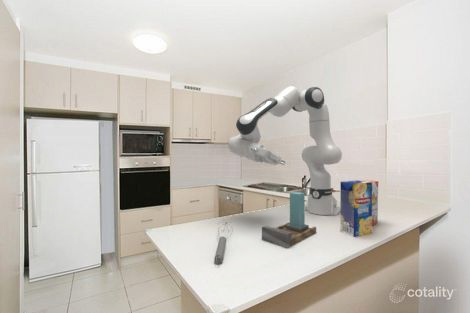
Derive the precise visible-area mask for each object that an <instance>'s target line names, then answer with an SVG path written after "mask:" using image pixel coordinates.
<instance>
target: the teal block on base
mask: <svg viewBox="0 0 470 313" xmlns="http://www.w3.org/2000/svg"><path fill="white" fill-rule="evenodd" d="M305 202H306V201H305V192H299V191H293V192H289V222H290V224H288V225H286V229H289V230H293V231H296V232H300V233H301V232H303V231H305V230H307V229H309V228H310V226H309V224H305V222H306V221H305V220H306V219H305V213H306V212H305V211H306V209H305V208H306V207H305V205H306V204H305Z"/></svg>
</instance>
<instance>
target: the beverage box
mask: <svg viewBox="0 0 470 313" xmlns="http://www.w3.org/2000/svg"><path fill="white" fill-rule="evenodd" d="M340 208H341V211H340V233H342V234H343V233H344V234H345V235H348V236H351V237H354V238H357V237H360V236H364V235H371V234H372V233H373V225H372V182H367V181H365V180H358V179H356V180H346V181H340Z"/></svg>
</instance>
